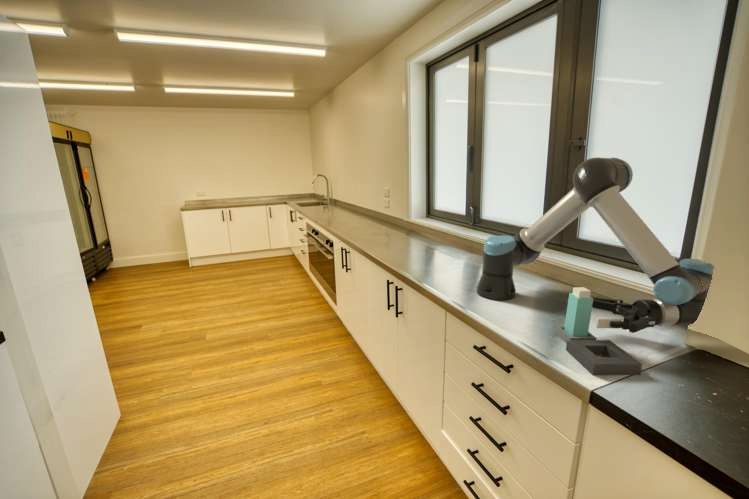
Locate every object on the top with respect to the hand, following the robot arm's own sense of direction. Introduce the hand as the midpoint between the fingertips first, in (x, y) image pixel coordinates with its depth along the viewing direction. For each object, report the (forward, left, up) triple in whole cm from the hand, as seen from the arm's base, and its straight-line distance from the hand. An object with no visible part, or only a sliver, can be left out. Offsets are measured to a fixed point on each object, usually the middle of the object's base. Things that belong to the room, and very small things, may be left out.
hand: (581, 312), depth 100 cm
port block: (+11, -1, -9) cm, 14 cm away
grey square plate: (-1, -1, -9) cm, 9 cm away
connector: (-1, -1, -9) cm, 9 cm away
